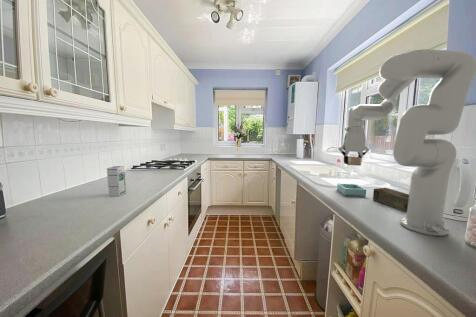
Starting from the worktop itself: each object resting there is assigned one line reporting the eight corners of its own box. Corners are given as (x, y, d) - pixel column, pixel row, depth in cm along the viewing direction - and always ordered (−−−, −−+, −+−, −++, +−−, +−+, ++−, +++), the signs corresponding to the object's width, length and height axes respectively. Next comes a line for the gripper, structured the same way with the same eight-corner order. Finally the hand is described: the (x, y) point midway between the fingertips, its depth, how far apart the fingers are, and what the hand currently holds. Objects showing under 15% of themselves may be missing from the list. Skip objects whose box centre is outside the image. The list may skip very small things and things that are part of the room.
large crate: (365, 196, 111) (366, 189, 110) (344, 195, 112) (345, 188, 111) (356, 190, 122) (356, 184, 122) (337, 190, 123) (337, 183, 123)
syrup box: (119, 196, 105) (118, 167, 103) (108, 196, 105) (106, 167, 103) (126, 193, 111) (124, 166, 109) (115, 192, 111) (113, 165, 109)
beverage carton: (411, 214, 88) (413, 199, 87) (371, 200, 106) (372, 187, 106) (425, 212, 90) (427, 197, 89) (383, 199, 108) (385, 186, 108)
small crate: (361, 165, 110) (361, 158, 110) (349, 165, 111) (349, 157, 111) (355, 163, 117) (355, 156, 117) (343, 163, 118) (344, 156, 117)
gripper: (341, 129, 109) (338, 164, 111) (376, 130, 107) (372, 165, 110) (335, 130, 116) (333, 162, 119) (368, 130, 115) (365, 163, 117)
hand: (352, 163), depth 114 cm, fingers closed on small crate, 6 cm apart
